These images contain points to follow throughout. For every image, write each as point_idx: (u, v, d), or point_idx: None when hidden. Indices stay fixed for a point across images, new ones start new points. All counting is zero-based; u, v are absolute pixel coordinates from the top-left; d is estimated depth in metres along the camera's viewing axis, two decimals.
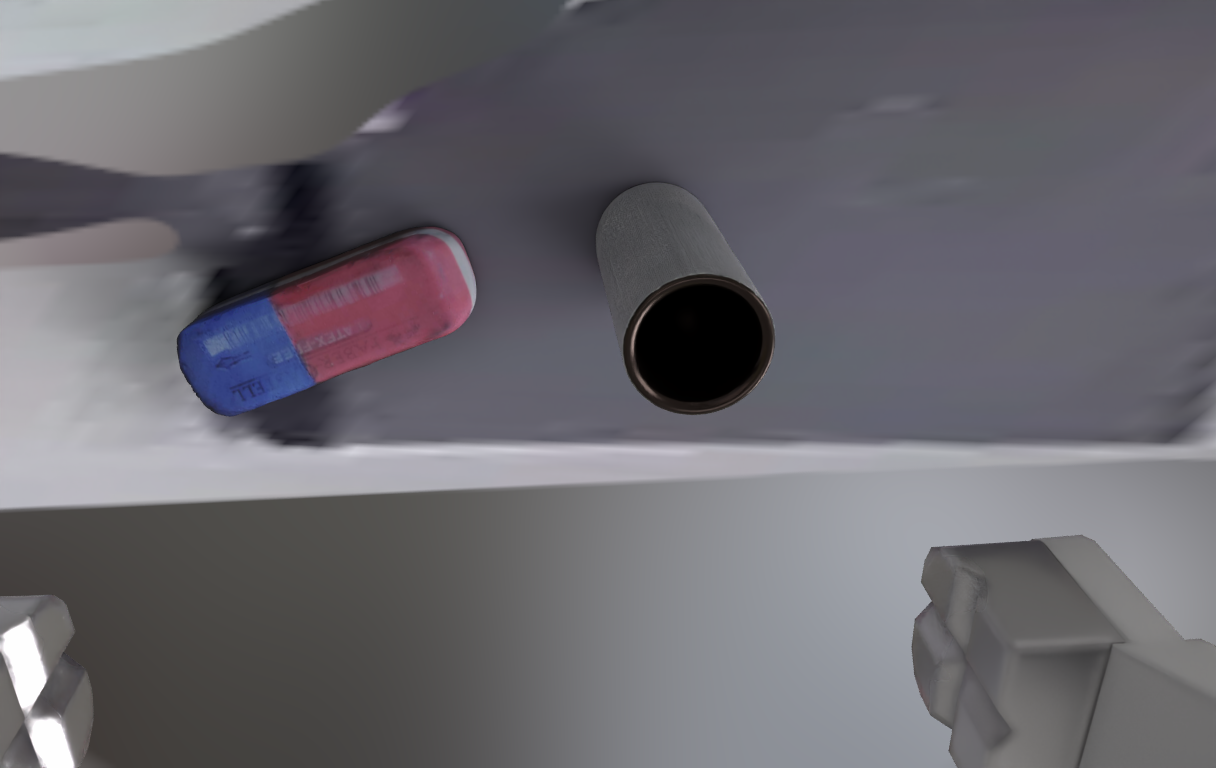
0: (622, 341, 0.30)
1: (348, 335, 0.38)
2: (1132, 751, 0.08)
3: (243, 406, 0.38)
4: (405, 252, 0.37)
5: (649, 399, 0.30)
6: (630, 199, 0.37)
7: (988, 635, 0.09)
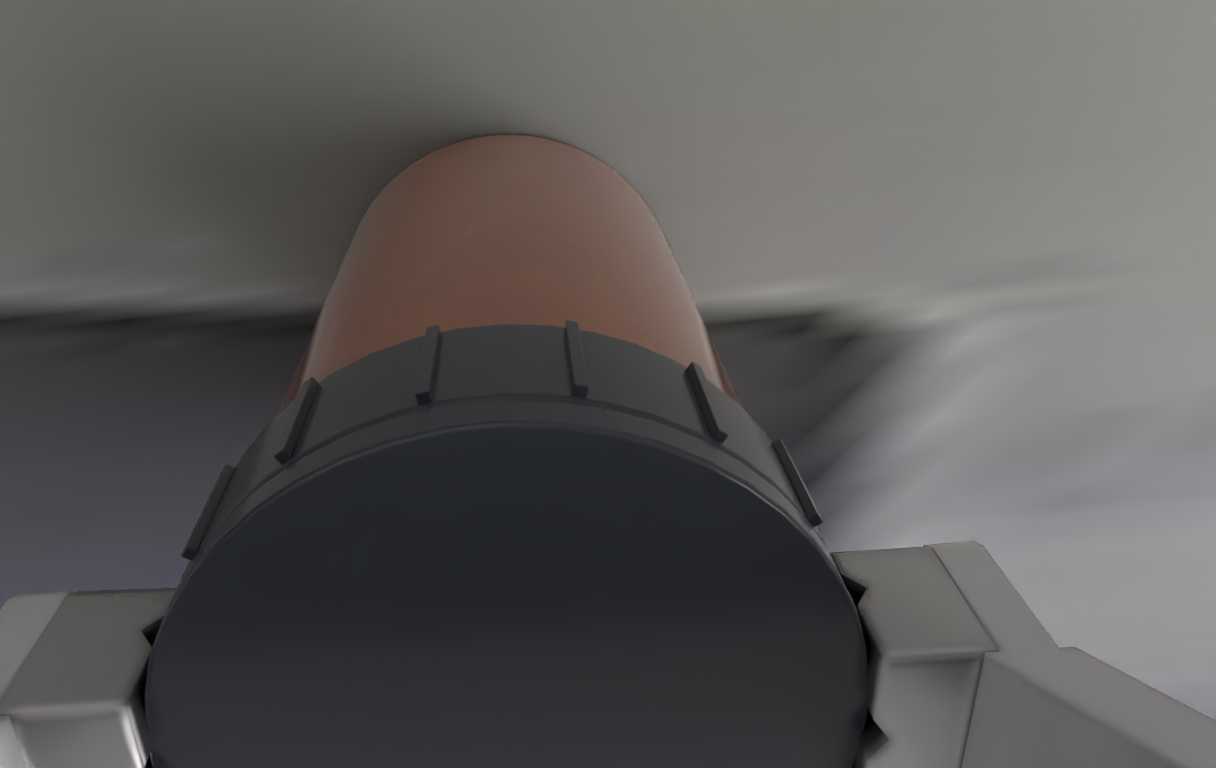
0: None
1: None
2: (1006, 760, 0.08)
3: None
4: None
5: None
6: None
7: None
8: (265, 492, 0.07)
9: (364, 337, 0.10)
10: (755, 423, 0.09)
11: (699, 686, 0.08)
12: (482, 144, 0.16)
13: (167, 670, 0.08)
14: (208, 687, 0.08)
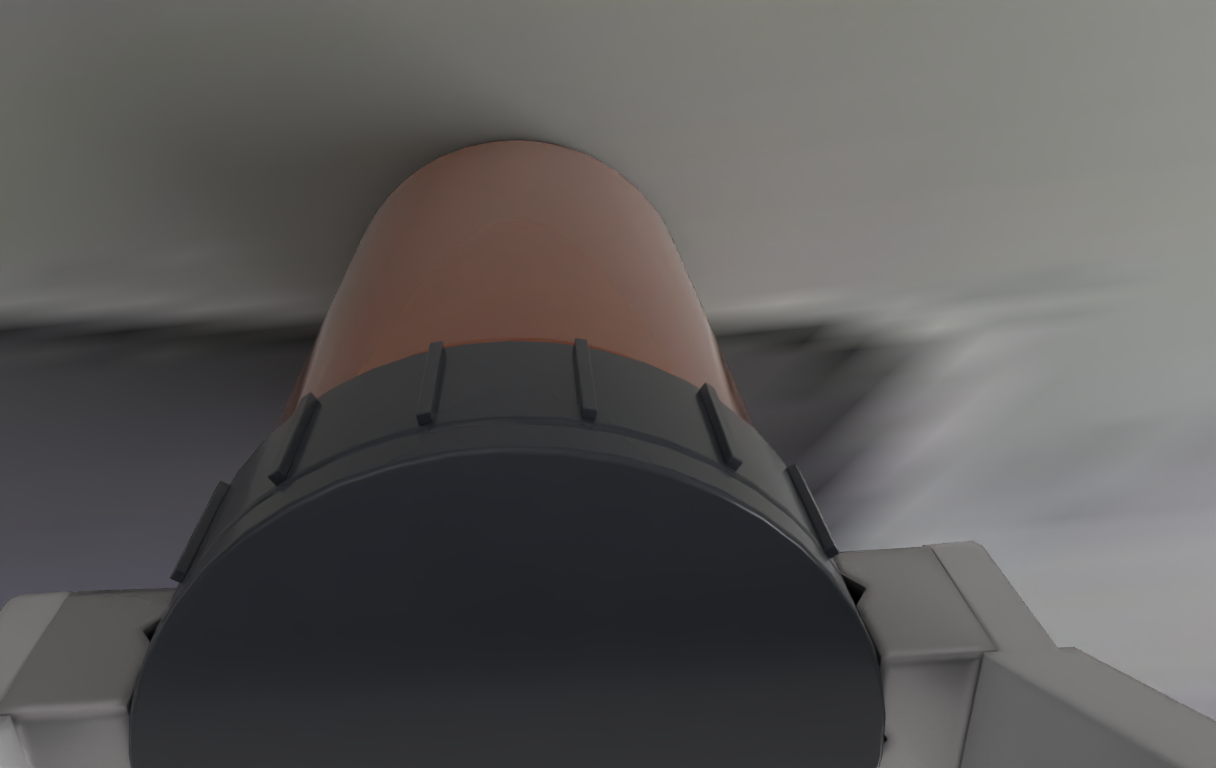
0: None
1: None
2: (1005, 760, 0.08)
3: None
4: None
5: None
6: None
7: None
8: None
9: (366, 346, 0.10)
10: (278, 429, 0.09)
11: (450, 629, 0.07)
12: (489, 150, 0.15)
13: None
14: None
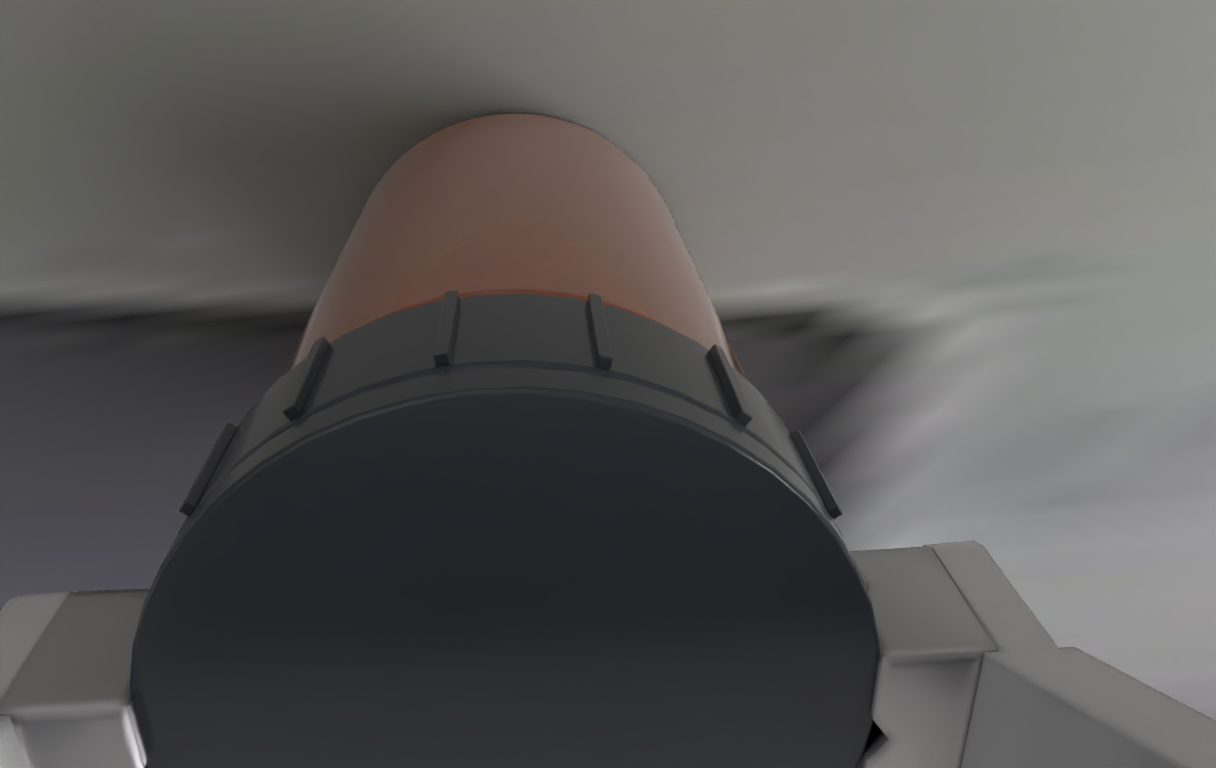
0: None
1: None
2: (1006, 760, 0.08)
3: None
4: None
5: None
6: None
7: None
8: None
9: (324, 331, 0.10)
10: None
11: None
12: (455, 130, 0.16)
13: None
14: None
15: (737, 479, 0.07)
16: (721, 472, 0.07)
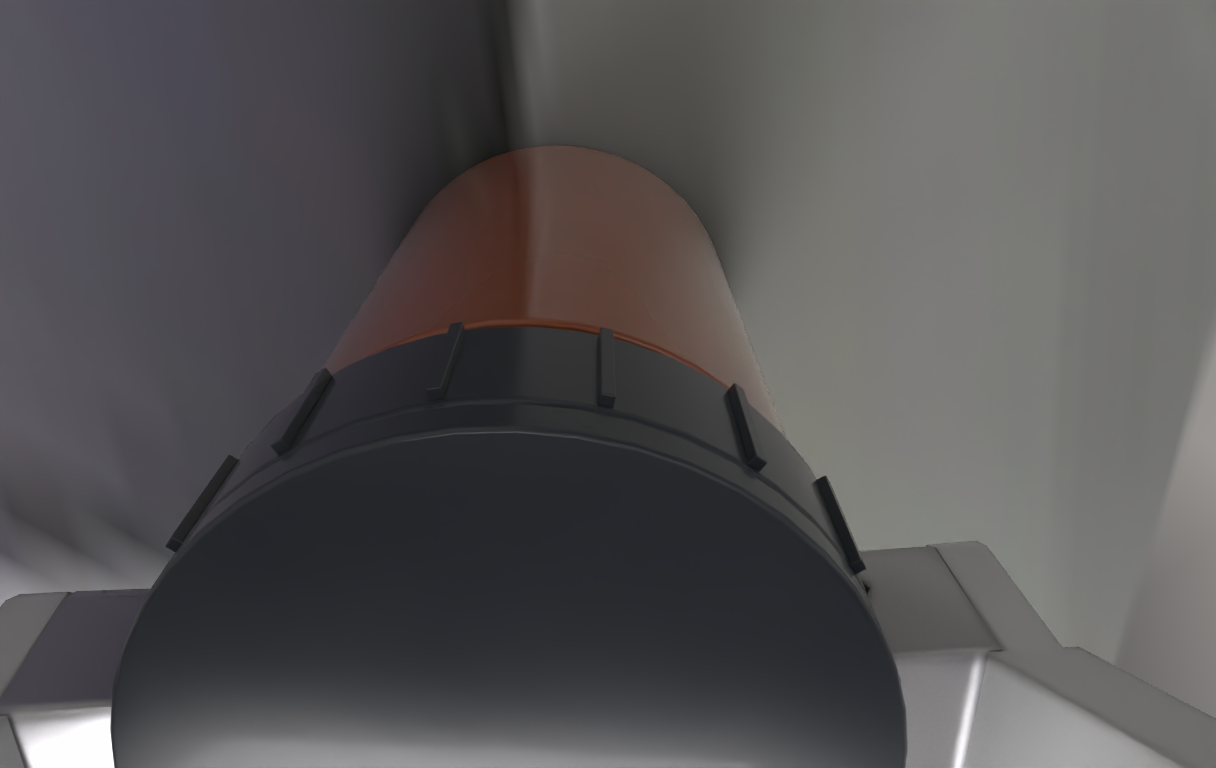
0: None
1: None
2: (1010, 760, 0.08)
3: None
4: None
5: None
6: None
7: None
8: None
9: (749, 386, 0.10)
10: None
11: None
12: None
13: None
14: None
15: (747, 529, 0.07)
16: (729, 521, 0.07)
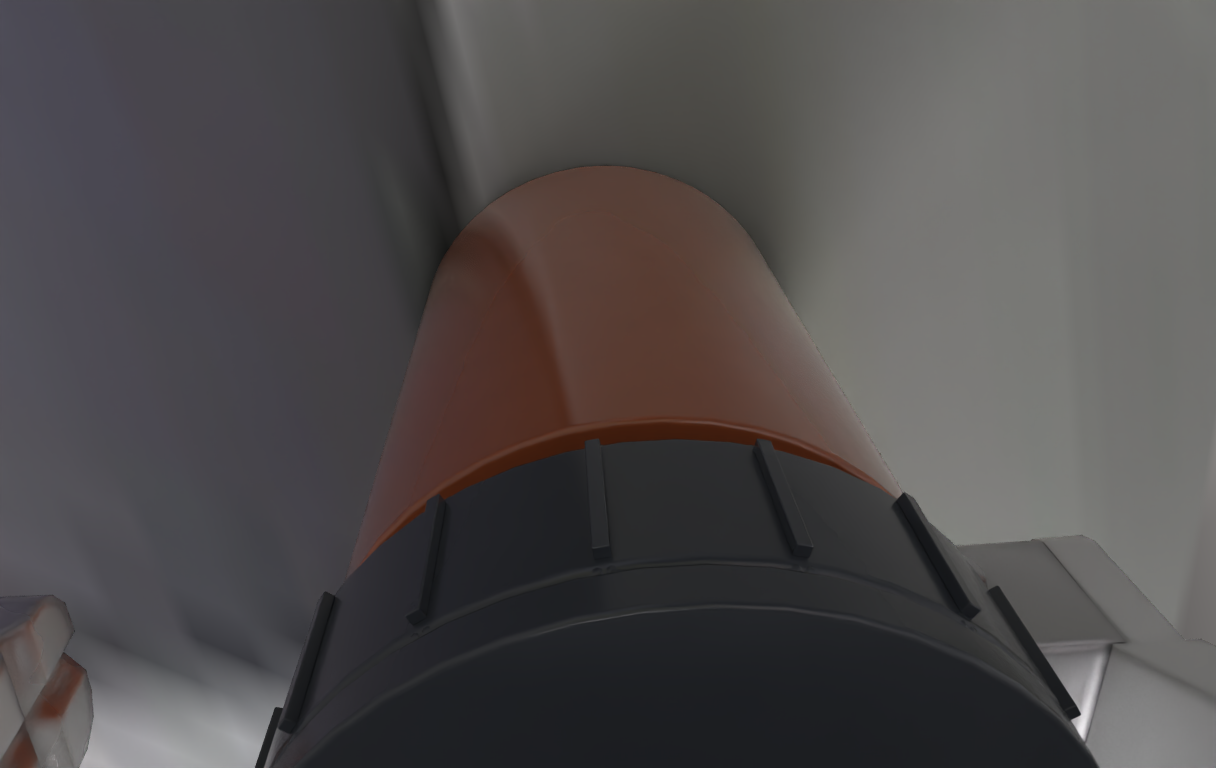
0: None
1: None
2: (1133, 751, 0.08)
3: None
4: None
5: None
6: None
7: None
8: None
9: (881, 465, 0.09)
10: None
11: None
12: None
13: None
14: None
15: (975, 700, 0.06)
16: (956, 693, 0.06)
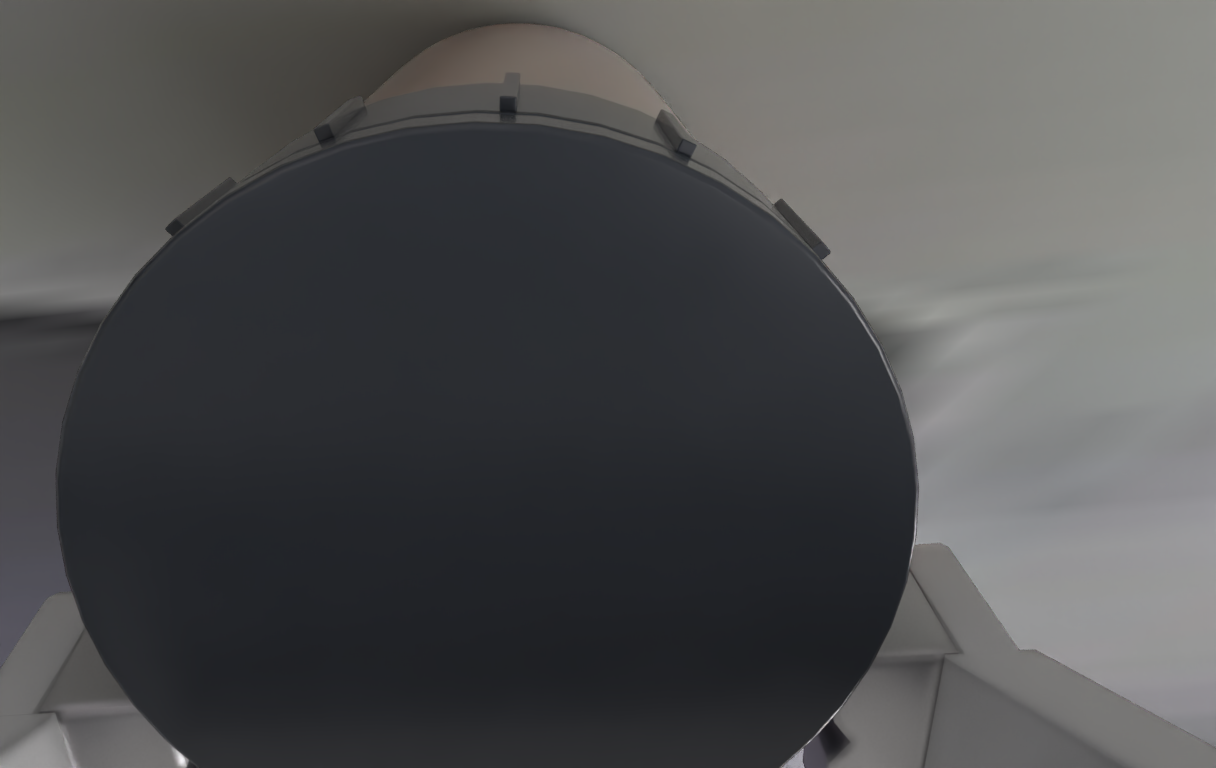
0: None
1: None
2: (966, 763, 0.08)
3: None
4: None
5: None
6: None
7: None
8: (897, 392, 0.07)
9: None
10: None
11: (518, 729, 0.08)
12: (486, 27, 0.15)
13: (743, 227, 0.06)
14: (701, 262, 0.06)
15: (183, 278, 0.06)
16: (170, 296, 0.06)
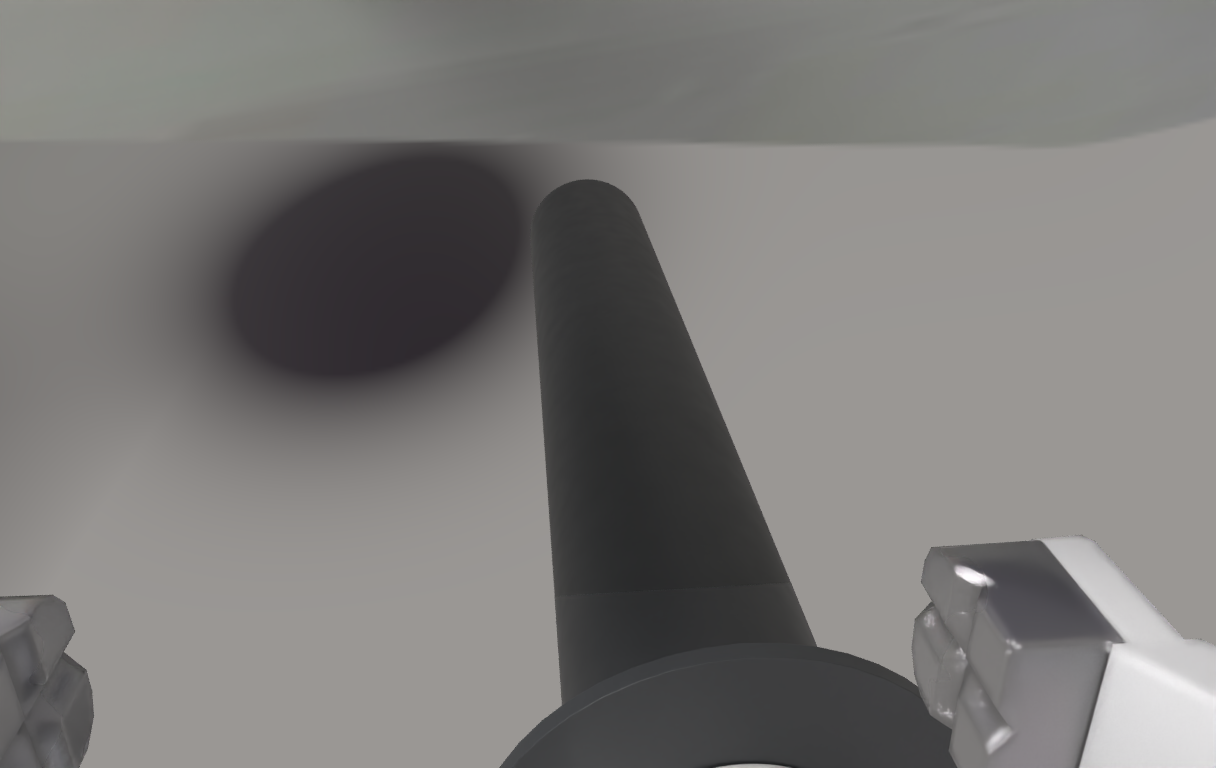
0: None
1: None
2: (1132, 751, 0.08)
3: None
4: None
5: None
6: None
7: (988, 635, 0.09)
8: None
9: None
10: None
11: None
12: None
13: None
14: None
15: None
16: None
